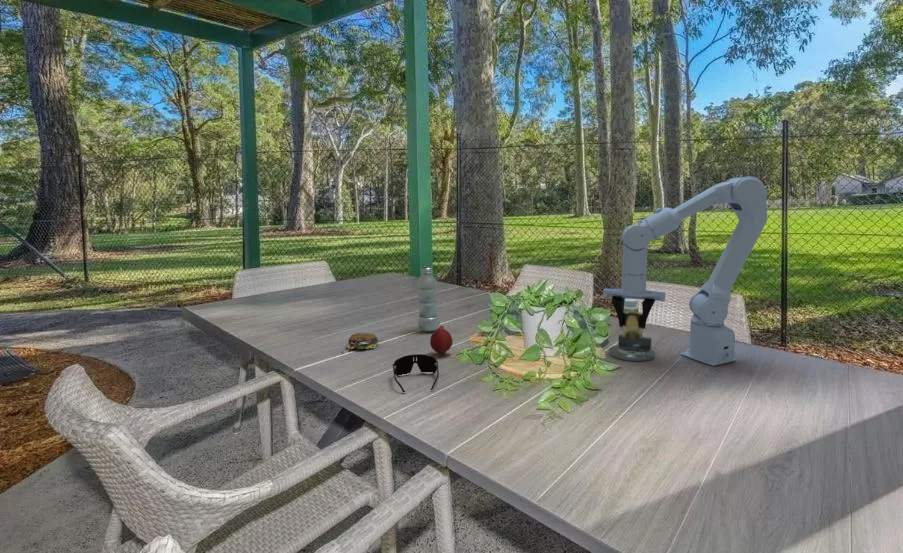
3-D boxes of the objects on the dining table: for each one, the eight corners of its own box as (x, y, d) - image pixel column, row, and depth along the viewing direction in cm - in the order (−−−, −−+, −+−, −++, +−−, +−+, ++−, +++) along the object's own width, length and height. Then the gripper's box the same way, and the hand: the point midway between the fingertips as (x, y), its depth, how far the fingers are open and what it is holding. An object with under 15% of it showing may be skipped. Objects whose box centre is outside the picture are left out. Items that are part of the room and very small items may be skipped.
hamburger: (337, 343, 144) (336, 323, 143) (385, 340, 144) (384, 321, 143) (328, 359, 130) (326, 337, 129) (381, 356, 131) (380, 334, 130)
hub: (646, 337, 124) (647, 314, 123) (632, 340, 122) (633, 316, 121) (632, 333, 128) (633, 310, 127) (619, 335, 126) (619, 312, 125)
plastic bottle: (414, 333, 150) (411, 268, 147) (424, 327, 156) (421, 265, 153) (433, 334, 148) (431, 269, 144) (442, 328, 154) (440, 265, 150)
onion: (436, 359, 125) (435, 329, 124) (427, 353, 130) (425, 324, 129) (456, 355, 128) (455, 326, 127) (446, 349, 133) (445, 321, 132)
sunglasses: (437, 371, 117) (437, 352, 116) (442, 397, 106) (442, 377, 104) (393, 374, 116) (392, 355, 115) (393, 401, 105) (392, 381, 103)
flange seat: (613, 345, 132) (613, 333, 131) (657, 350, 127) (657, 338, 126) (604, 358, 123) (605, 345, 122) (651, 364, 117) (652, 351, 117)
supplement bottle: (635, 324, 152) (636, 298, 150) (640, 328, 147) (640, 301, 146) (619, 324, 152) (620, 298, 151) (623, 328, 148) (624, 301, 146)
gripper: (667, 272, 121) (665, 325, 123) (607, 269, 128) (606, 320, 130) (664, 277, 115) (662, 333, 117) (601, 274, 122) (600, 326, 124)
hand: (632, 326), depth 123 cm, fingers closed on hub, 5 cm apart
